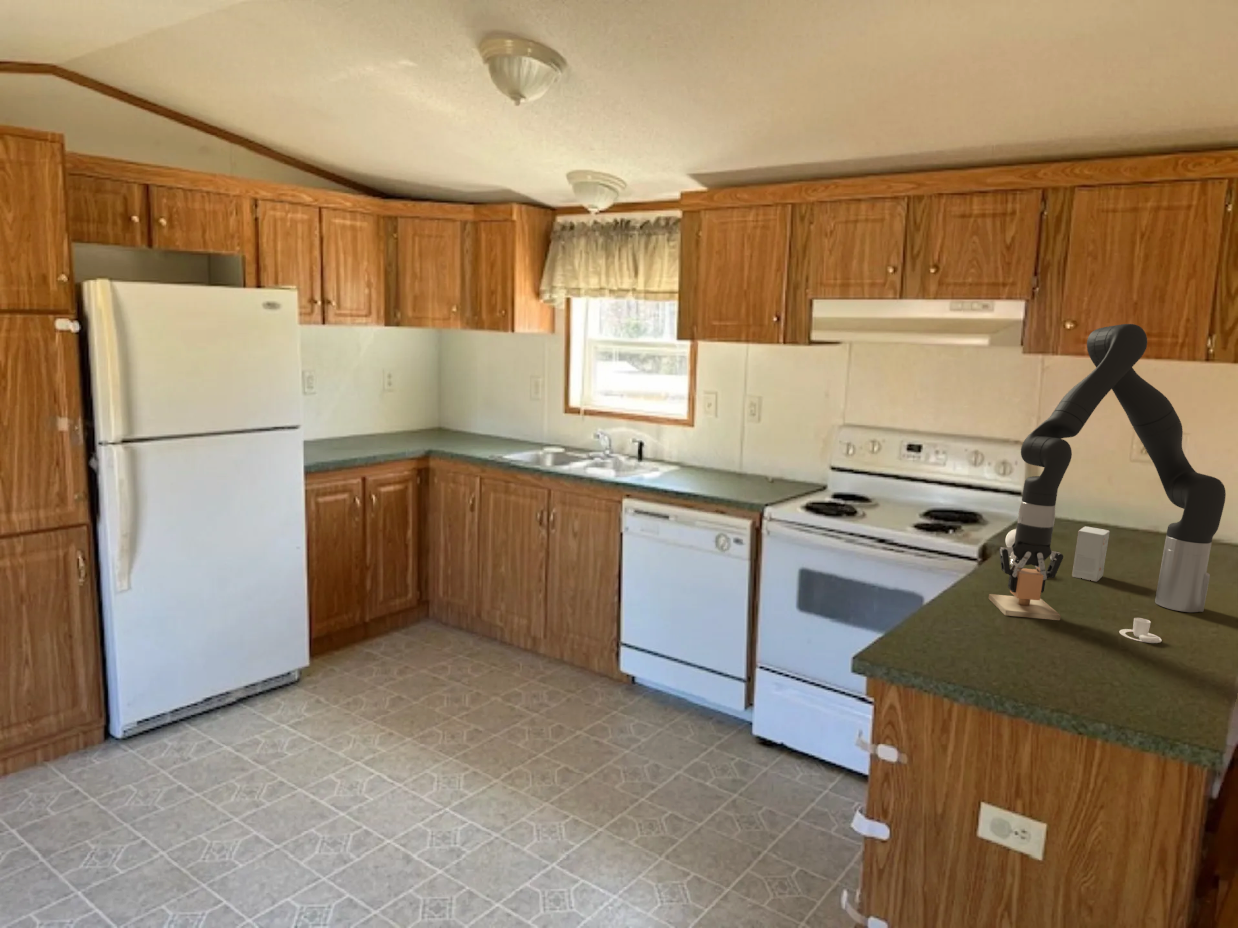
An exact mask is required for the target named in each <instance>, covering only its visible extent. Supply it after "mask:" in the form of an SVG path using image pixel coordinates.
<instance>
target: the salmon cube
mask: <svg viewBox="0 0 1238 928" xmlns="http://www.w3.org/2000/svg"><path fill="white" fill-rule="evenodd" d="M1043 576H1044V575H1042V574H1040V572H1038V571H1037V570H1036V568H1024V567H1023V569H1021V571H1020V572H1019V574H1018V576H1017V578H1018V581H1017V588H1016V592H1015V593H1014V592H1011V591H1010V590H1009V592H1010V594H1012V596H1015V597H1016V598H1019V599H1030V600H1040V599H1041V594H1042V593H1041V589H1042V583H1043Z"/></svg>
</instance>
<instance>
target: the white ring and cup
mask: <svg viewBox="0 0 1238 928" xmlns="http://www.w3.org/2000/svg"><path fill="white" fill-rule="evenodd" d="M1132 624H1133V626H1132V629H1130V628H1129V629H1128V628H1124V629H1120V630H1119V631H1118V632H1119V634H1120V635H1121V636H1123V637H1125V638H1127V639H1130V640H1134V641H1137V642H1142V643H1148V644H1158V643H1161V642H1162V638H1161V637H1160V636H1158V635H1156V634H1153V633H1150V632H1149V631H1150V627H1151V624H1152V622H1151V621H1150V620H1149V619H1146V618H1142V617H1134V618H1133V623H1132ZM1128 632H1133V633H1132V634H1133V636H1134V637H1136V638H1134V637H1132V636H1129V635H1128V634H1126V633H1128Z"/></svg>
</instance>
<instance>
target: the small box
mask: <svg viewBox="0 0 1238 928" xmlns="http://www.w3.org/2000/svg"><path fill="white" fill-rule="evenodd" d="M1110 531H1111V530H1107V529H1102V528H1097V527H1091V526H1083V527H1082V528H1080V529H1079V530H1078V531H1077V538H1076V546H1075V551H1074V559H1073V567H1072V572H1071V577H1072V578H1077V579H1081V578H1082V580H1087V581H1090V580H1091V581H1092V582H1098V581H1100V579H1101V578H1102V577H1103V576H1104V569H1105V565H1106V564H1105V562H1106V555H1107V550H1108V545H1109V537H1110Z"/></svg>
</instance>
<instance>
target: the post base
mask: <svg viewBox="0 0 1238 928" xmlns="http://www.w3.org/2000/svg"><path fill="white" fill-rule="evenodd" d="M988 600H989V601H991V603H992V604H993V605H994V606H996V608H997V609H998V610H999V611H1000V612H1001V613H1002V615H1004V616H1009V617H1010V616H1011V617H1022V618H1030V619H1042V620H1051V621H1052V620H1053V621H1061V617H1062V615H1061V614H1060V613H1059V612H1058V611H1056V610H1055V609H1054V608H1053V607H1051V606H1050V604H1049V603H1047V602H1045V601H1044V599H1043V598H1040V600H1030V599H1019V598H1016V597H1015V596H1014V595H1004V594H993V593H989V594H988Z"/></svg>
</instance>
